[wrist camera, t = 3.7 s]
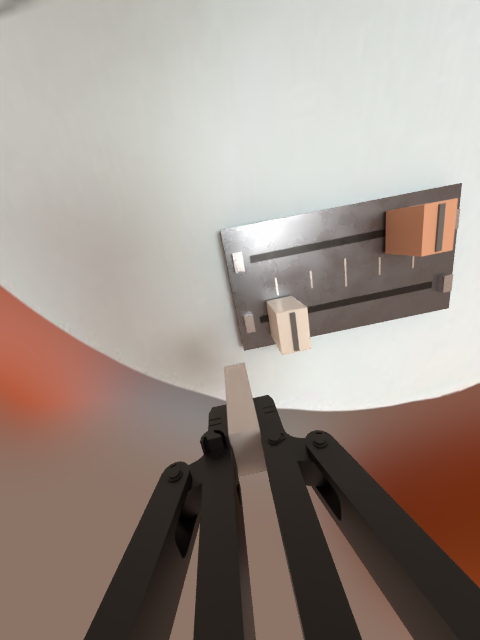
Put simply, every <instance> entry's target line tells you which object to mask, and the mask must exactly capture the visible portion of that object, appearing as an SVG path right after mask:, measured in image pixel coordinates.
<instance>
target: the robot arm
mask: <svg viewBox="0 0 480 640" xmlns="http://www.w3.org/2000/svg"><path fill="white" fill-rule="evenodd" d="M224 370H225V386H226V403H227V404H226V405H222V406H217V407H213V408H212V409H211V411H210V413H209V427H208V431H207V432H206V433H205V434H204V435H203V436H202V437H201V440H200V443H201V446H202V449H203V453H204V455H203V456H202V457H201V458H200V459H199V460H198V461H196V462H194V463H192V464H190V465H187V464H186V463H185V462H175V463H173V464H171V465H170V466H169V467H167V468H166V469H165V470H164V472H163V473H162V475H161V477H160V479H159V481H158V484H157V486H156V488H155V490H154V492H153V494H152V496H151V498H150V500H149V503H148V505H147V507H146V509H145V511H144V513H143V515H142V518H141V520H140V522H139V524H138V526H137V528H136V530H135V532H134V534H133V536H132V539H131V541H130V543H129V545H128V547H127V549H126V551H125V553H124V555H123V558H122V560H121V562H120V564H119V566H118V568H117V570H116V573H115V575H114V577H113V579H112V581H111V583H110V585H109V587H108V589H107V591H106V594H105V596H104V598H103V600H102V602H101V604H100V606H99V608H98V610H97V613H96V615H95V617H94V619H93V621H92V623H91V625H90V628H89V629H88V632H87V634H86V636H85V638H84V640H169V638H170V634H171V630H172V627H173V623H174V619H175V615H176V611H177V607H178V604H179V600H180V596H181V592H182V589H183V585H184V581H185V577H186V574H187V570H188V566H189V562H190V558H191V555H192V551H193V547H194V543H195V539H196V536H197V532H198V528H199V524H200V534H199V553H198V570H197V587H196V604H195V621H194V639H193V640H256V636H255V628H254V627H255V626H254V617H253V606H252V597H251V586H250V577H249V568H248V556H247V546H246V536H245V526H244V516H243V506H242V496H241V487H240V483H239V478H238V475H239V477H240V476H245V475H249V474H254V473H258V472H263V471H267V472H268V476H269V482H270V486H271V491H272V495H273V500H274V504H275V509H276V514H277V518H278V523H279V527H280V532H281V536H282V541H283V546H284V550H285V555H286V560H287V564H288V569H289V573H290V578H291V582H292V587H293V592H294V596H295V601H296V606H297V610H298V615H299V619H300V624H301V629H302V633H303V638H304V640H362V639H361V636H360V633H359V630H358V627H357V625H356V622H355V619H354V616H353V614H352V611H351V608H350V606H349V603H348V600H347V597H346V594H345V592H344V589H343V586H342V583H341V581H340V578H339V575H338V572H337V570H336V567H335V564H334V562H333V559H332V556H331V553H330V550H329V548H328V545H327V542H326V539H325V537H324V534H323V531H322V528H321V526H320V523H319V520H318V518H317V515H316V512H315V509H314V506H313V504H312V501H311V498H310V496H309V493H308V490H307V487H306V485H307V486H312V488H313V490H314V491H315V493H316V494H317V496H318V497H319V499H320V500H321V502H322V503H323V504H324V506H325V508H326V509H327V510H328V512H329V514H330V515H331V516H332V518H333V519H334V521H335V522H336V524H337V525H338V527H339V528H340V530H341V531H342V533H343V534H344V536H345V537H346V539H347V540H348V542H349V543H350V545H351V546H352V548H353V549H354V551H355V552H356V554H357V555H358V557H359V558H360V560H361V561H362V563H363V564H364V566H365V567H366V569H367V570H368V572H369V573H370V575H371V576H372V577H373V579H374V581H375V582H376V584H377V585H378V586H379V588H380V590H381V591H382V593H383V594H384V595H385V597H386V598H387V600H388V601H389V603H390V604H391V606H392V607H393V609H394V610H395V612H396V613H397V615H398V616H399V618H400V619H401V621H402V622H403V624H404V625H405V627H406V628H407V630H408V631H409V633H410V634H411V636H412V637H413V639H414V640H480V588H479V587H478V586H477V585H476V584H475V583H474V582H473V581H472V580H471V579H470V578H469V577H468V576H467V575H466V574H465V573H464V572H463V571H462V570H461V569H460V568H459V566H457V564H455V562H454V561H453V560H452V559H451V558H450V557H449V556H448V555H447V554H446V553H445V552H444V551H443V550H442V549H441V548H440V547H439V546H438V545H437V544H436V543H435V542H434V541H433V540H432V539H431V538H430V537H429V536H428V535H427V534H426V533H425V532H424V531H423V529H422V528H421V527H420V526H419V525H418V524H417V523H416V522H415V521H414V520H413V519H412V518H411V517H410V516H409V515H408V514H407V513H406V512H405V511H404V510H403V509H402V508H401V507H400V506H399V505H398V504H397V503H396V502H395V501H394V500H393V498H392V497H390V495H389V494H388V493H387V492H386V491H385V490H384V489H383V488H382V487H381V486H380V485H379V484H378V483H377V482H376V481H375V480H374V479H373V478H372V477H371V476H370V475H369V474H368V473H367V472H366V471H365V470H364V469H363V468H362V467H361V466H360V465H359V464H358V462H357V461H356V460H355V459H354V458H353V457H352V456H351V455H350V454H349V453H348V452H347V451H346V450H345V449H344V448H343V447H342V446H341V445H340V444H339V443H338V442H337V441H336V440H335V439H334V438H333V437H332V436H331V435H330V434H328V433H327V432H324V431H318V430H316V431H312V432H310V433H309V434H308V435H307V436H306V438H296V437H292V436H290V435H289V434H287V433H286V432H285V430H284V429H283V426H282V423H281V420H280V417H279V415H278V412H277V409H276V406H275V403H274V401H273V399H272V398H271V397H270V396H269V395H265V396H261V397H256V398H252V393H251V389H250V385H249V380H248V376H247V372H246V367H245V363H240V364H236V365H231V366H226V367H224Z"/></svg>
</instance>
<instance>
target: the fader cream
mask: <svg viewBox="0 0 480 640" xmlns="http://www.w3.org/2000/svg"><path fill="white" fill-rule="evenodd" d="M266 304H267V311H268V317H269V324H270V330H271V336H272V338H273V340H274V342H275V343H276V345H277V347H278V349H279V351H280V352H281V354H282V355H284V354H289V353H294V352H299V351H304V350H308V349H311V341H310V331H309V320H308V310H307V307H306V306H305V305H304V304H302V303H301V302H300V301H298V300H297V299H296V298H294V297H293V296H288V297H283V298H278V299H273V300H268V301H266Z"/></svg>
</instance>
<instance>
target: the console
mask: <svg viewBox="0 0 480 640" xmlns="http://www.w3.org/2000/svg"><path fill="white" fill-rule="evenodd" d="M461 187H462V183H459V184H454V185H449V186H444V187H439V188H434V189H429V190H423V191H418V192H413V193H408V194H403V195H398V196H393V197H388V198H382V199H377V200H372V201H367V202H362V203H357V204H352V205H346V206H341V207H336V208H331V209H326V210H321V211H316V212H311V213H305V214H300V215H295V216H290V217H285V218H280V219H275V220H269V221H264V222H259V223H254V224H249V225H244V226H239V227H234V228H228V229H223V230H220V232H221V237H222V242H223V247H224V252H225V258H226V263H227V268H228V273H229V278H230V283H231V288H232V293H233V298H234V303H235V308H236V313H237V318H238V323H239V328H240V333H241V338H242V343H243V347H244V351H245V350H250V349H255V348H259V347H264V346H269V345H274V344H276V343H275V342H274V340H273V338H272V336H271V330H270V324H269V317H268V311H267V304H266V301H268V300H273V299H278V298H283V297H288V296H293V297H294V298H296V299H297V300H298V301H300V302H301V303H302V304H304V305H305V306H306V307H307V310H308V320H309V331H310V337H312V336H317V335H322V334H327V333H331V332H336V331H341V330H346V329H351V328H355V327H360V326H365V325H370V324H375V323H379V322H384V321H389V320H394V319H399V318H403V317H408V316H413V315H418V314H423V313H428V312H432V311H437V310H442V309H447V308H449V300H450V291H451V289H452V279H453V274H452V272H453V262H454V253H455V244H456V234H457V229H458V223H459V214H460V209H459V206H460V196H461ZM455 198H458V203H457V212H456V222H455V232H454V242H453V250H451V251H447V252H442V253H437V254H432V255H427V256H422V257H420V256H408V255H396V254H385V248H386V211H389V210H394V209H399V208H405V207H410V206H415V205H421V204H426V203H432V202H438V201H444V200H450V199H455Z"/></svg>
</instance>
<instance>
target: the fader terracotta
mask: <svg viewBox="0 0 480 640" xmlns="http://www.w3.org/2000/svg"><path fill="white" fill-rule="evenodd" d="M457 203H458V198H455V199H450V200H444V201H438V202H432V203H426V204H421V205H415V206H410V207H405V208H399V209H394V210H389V211H386V248H385V254H396V255H408V256H420V257H422V256H427V255H432V254H437V253H442V252H447V251H451V250H453V242H454V232H455V222H456V212H457Z"/></svg>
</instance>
